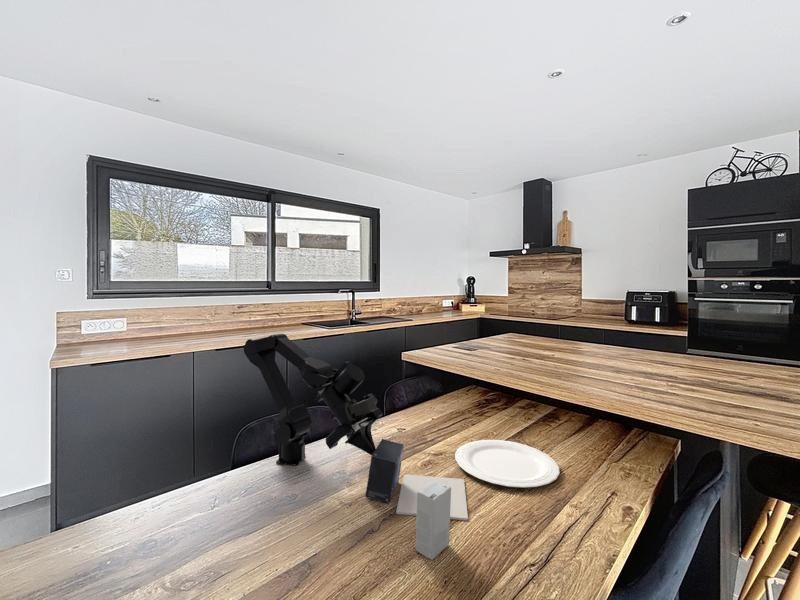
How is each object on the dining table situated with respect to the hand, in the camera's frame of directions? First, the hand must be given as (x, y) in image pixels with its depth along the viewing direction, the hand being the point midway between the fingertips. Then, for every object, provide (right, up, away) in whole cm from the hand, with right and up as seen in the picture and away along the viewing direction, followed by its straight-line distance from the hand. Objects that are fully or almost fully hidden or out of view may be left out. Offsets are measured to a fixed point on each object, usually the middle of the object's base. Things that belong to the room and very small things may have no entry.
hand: (375, 454), depth 96 cm
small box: (+2, -9, -1) cm, 9 cm away
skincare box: (+13, -10, -21) cm, 27 cm away
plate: (+37, -9, +14) cm, 41 cm away
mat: (+14, -9, -3) cm, 17 cm away
